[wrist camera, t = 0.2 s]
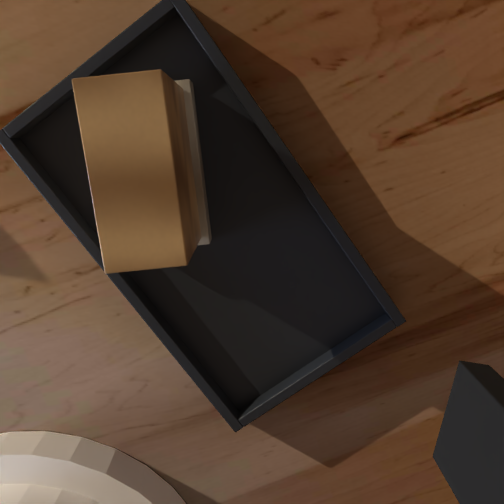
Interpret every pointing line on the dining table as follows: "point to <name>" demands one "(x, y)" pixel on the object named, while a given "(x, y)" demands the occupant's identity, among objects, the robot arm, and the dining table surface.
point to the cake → (74, 472)
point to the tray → (221, 231)
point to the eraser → (143, 168)
